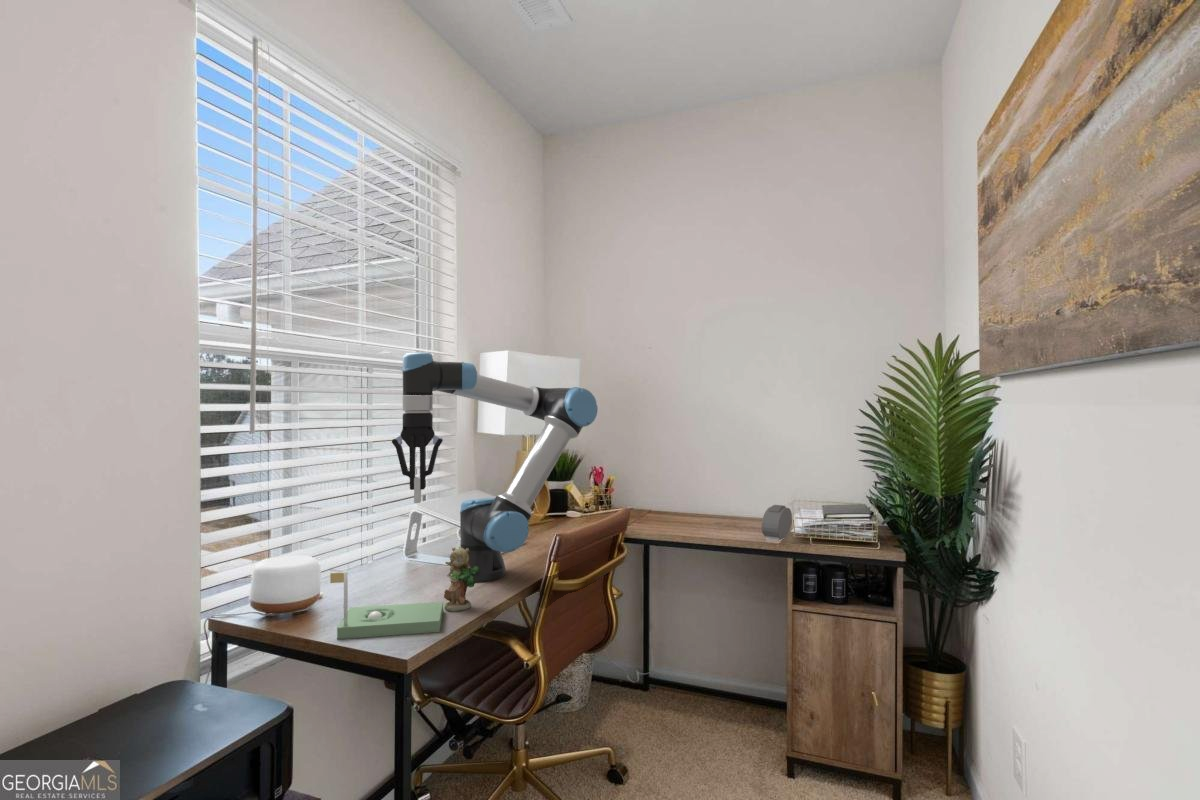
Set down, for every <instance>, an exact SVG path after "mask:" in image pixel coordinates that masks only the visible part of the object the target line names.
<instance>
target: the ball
mask: <svg viewBox="0 0 1200 800" xmlns="http://www.w3.org/2000/svg"><path fill="white" fill-rule="evenodd" d="M381 617H383V616H382V614H381V613H380V612H378V611H374V612H371V613H370V614H369V616H368V619H377V618H381Z"/></svg>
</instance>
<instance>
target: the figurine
mask: <svg viewBox="0 0 1200 800" xmlns="http://www.w3.org/2000/svg"><path fill="white" fill-rule="evenodd" d="M451 549H452V552H451V553H450V555H449V560H450V561H445V562H444V564H445V565H447V566H450V569H449V572H448V573H447V574H446V577H448V578H449V579H450V586H449V588H447V589H444V594H443V598H444V600H446V601H448V602H447V603H446V604H444V610H445V611H448V612H453V613H454V612H461V611H464V610H468V609H469V608H471V607H472V604H471V602H470V600H468V599H467V598H466V594H467V590H468V589H467V588H473V587H475V584H476V582H475V581H474V579H475V578H474V577H473V576H474V575H475V574H476V573H478V571H479V567H476V566H475V567H474V568H471V567H470V566H469V563H468V561H469V554H468V551H470V550H469V549H468V548H466V550H465V549H464V548H462V547H461V546H460V547H458V548H456V547H452V548H451ZM470 568H471V569H470Z"/></svg>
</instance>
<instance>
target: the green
mask: <svg viewBox="0 0 1200 800" xmlns="http://www.w3.org/2000/svg"><path fill="white" fill-rule="evenodd" d="M374 611H378V612H380V613H381V614H382V616H383V617H381V618H377V619H368V616H369V614H370V613H371V612H374ZM443 614H444V601H437V602H436V601H434V602H418V603H415V602H414V603H403V604H385V605H369V606H368V605H367V606H353V607H348V625H347V626H344V617H343V618H342V619H341V621H340V623H339V624H338V626H337V628H336V631H337V632H336V636H337V637H336V639H337V640H342V639H343V640H344V639H357V638H370V637H371V638H372V637H382V636H385V637H386V636H397V635H399V636H400V635H410V634H411V635H412V634H426V633H427V634H428V633H439V632H440V631H441V625H442V619H443Z"/></svg>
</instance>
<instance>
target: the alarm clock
mask: <svg viewBox="0 0 1200 800" xmlns="http://www.w3.org/2000/svg"><path fill="white" fill-rule="evenodd" d="M792 521H793V514H792V511H791V508H789V507H787V506H786V505H780V504H773V505H771V506H769V507H767V509H766V511H765V512H764V514H763V516H762V519H761V533H762V535H763V536H764V537H765V541H766V540H767V541H779V540H781V539H783V538H785V537H786V536H787V535H788V536H789V533H790V531H791V527H792ZM788 536H787V537H788ZM787 537H786V538H787ZM786 538H785V539H786Z"/></svg>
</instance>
